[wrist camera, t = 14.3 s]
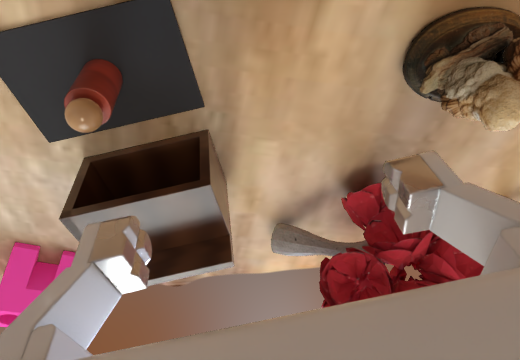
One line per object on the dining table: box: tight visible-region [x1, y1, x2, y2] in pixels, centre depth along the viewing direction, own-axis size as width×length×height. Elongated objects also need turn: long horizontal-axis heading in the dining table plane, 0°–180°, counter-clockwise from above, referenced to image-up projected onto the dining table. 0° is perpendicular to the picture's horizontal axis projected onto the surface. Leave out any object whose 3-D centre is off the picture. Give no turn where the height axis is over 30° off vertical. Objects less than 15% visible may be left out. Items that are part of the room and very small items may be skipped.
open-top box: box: [59, 130, 234, 286], centre depth 43 cm, size 17×10×15 cm, turn 100°
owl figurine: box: [403, 7, 520, 131], centre depth 37 cm, size 18×12×17 cm, turn 87°
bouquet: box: [271, 183, 484, 308], centre depth 52 cm, size 22×24×30 cm
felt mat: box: [0, 0, 204, 143], centre depth 38 cm, size 20×13×1 cm, turn 100°
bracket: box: [0, 242, 75, 327], centre depth 55 cm, size 12×10×10 cm
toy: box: [64, 59, 123, 133], centre depth 34 cm, size 4×4×10 cm
